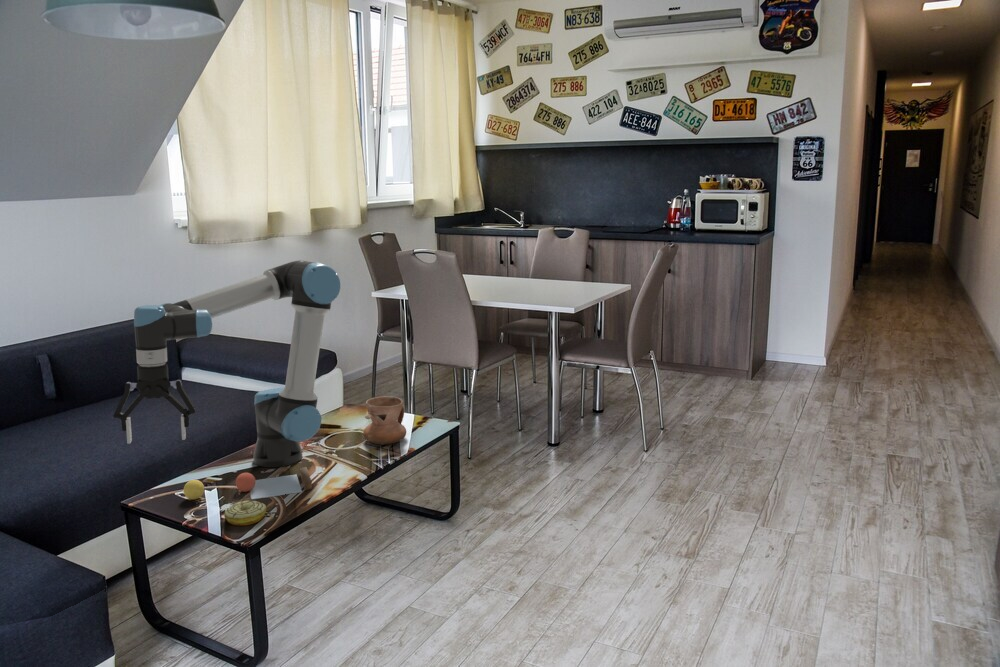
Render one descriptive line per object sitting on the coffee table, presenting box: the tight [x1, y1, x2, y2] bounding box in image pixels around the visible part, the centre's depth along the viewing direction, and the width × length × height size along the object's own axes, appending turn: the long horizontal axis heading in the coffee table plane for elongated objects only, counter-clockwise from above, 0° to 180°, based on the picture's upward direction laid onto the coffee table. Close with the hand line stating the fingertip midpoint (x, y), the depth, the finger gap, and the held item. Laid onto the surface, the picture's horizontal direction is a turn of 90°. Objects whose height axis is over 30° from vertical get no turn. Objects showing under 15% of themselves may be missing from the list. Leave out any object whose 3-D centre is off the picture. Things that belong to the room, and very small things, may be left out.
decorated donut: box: [224, 500, 267, 527], centre depth 211 cm, size 10×11×4 cm
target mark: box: [249, 473, 303, 501], centre depth 232 cm, size 14×14×1 cm
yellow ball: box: [183, 479, 205, 500], centre depth 224 cm, size 6×6×6 cm
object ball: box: [235, 472, 256, 493], centre depth 228 cm, size 6×6×6 cm
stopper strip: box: [299, 466, 313, 491], centre depth 234 cm, size 2×12×2 cm, turn 20°
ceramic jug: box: [363, 395, 407, 445], centre depth 268 cm, size 18×14×14 cm
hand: (157, 440), depth 214 cm, fingers open, 13 cm apart
